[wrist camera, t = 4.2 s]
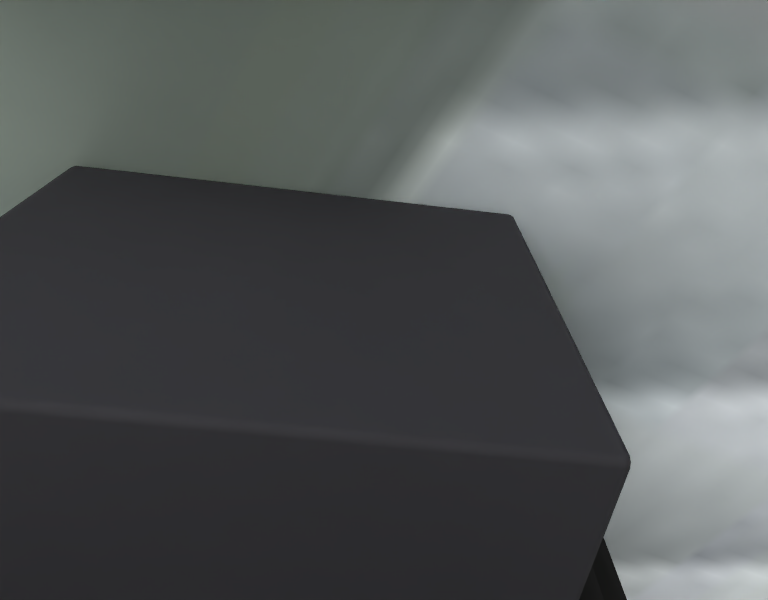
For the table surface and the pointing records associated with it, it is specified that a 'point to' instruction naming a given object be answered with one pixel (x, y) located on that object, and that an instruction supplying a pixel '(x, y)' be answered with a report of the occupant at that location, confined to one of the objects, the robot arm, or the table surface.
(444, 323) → the charcoal pad
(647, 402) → the table surface
